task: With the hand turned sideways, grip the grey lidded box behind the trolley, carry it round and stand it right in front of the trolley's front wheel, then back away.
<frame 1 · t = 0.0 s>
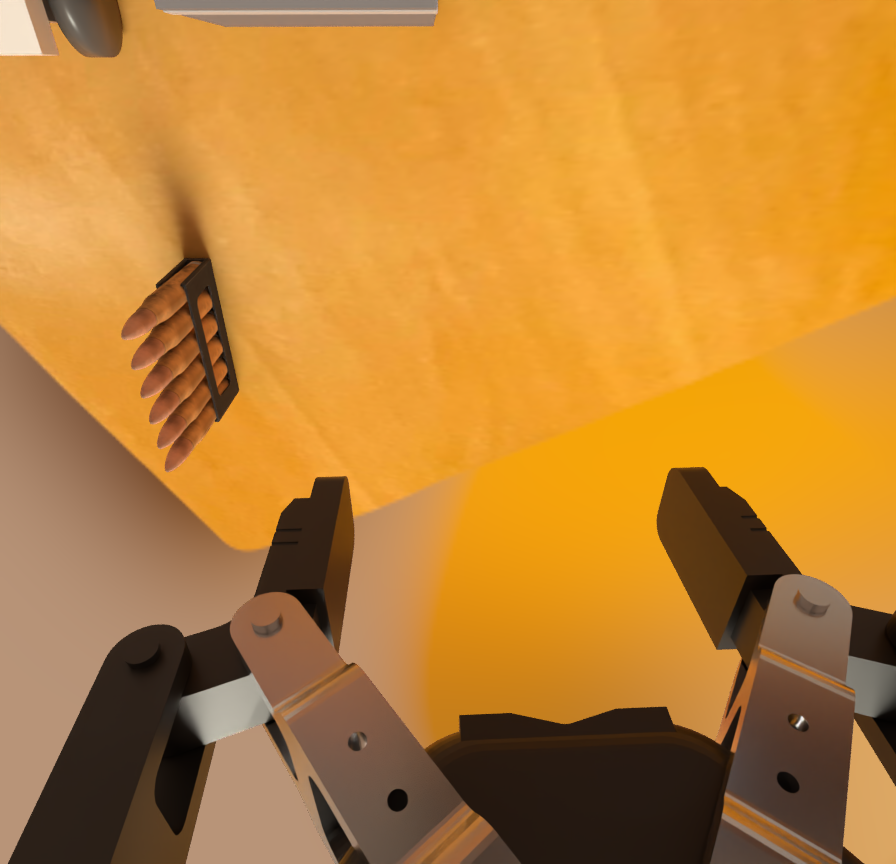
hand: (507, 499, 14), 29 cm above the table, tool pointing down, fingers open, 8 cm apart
ammunition clip: (214, 328, 42), on the table
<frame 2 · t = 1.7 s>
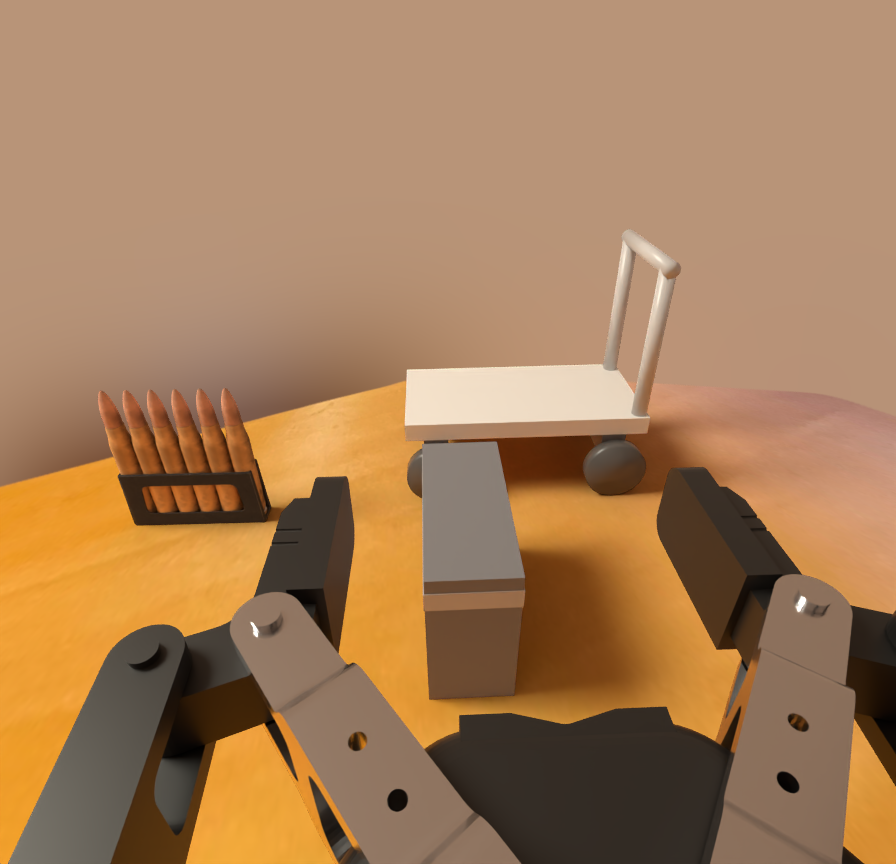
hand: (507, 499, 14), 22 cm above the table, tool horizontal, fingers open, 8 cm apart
grey lidded box: (464, 614, 38), on the table
trolley: (514, 456, 53), on the table
ammunition clip: (205, 518, 46), on the table
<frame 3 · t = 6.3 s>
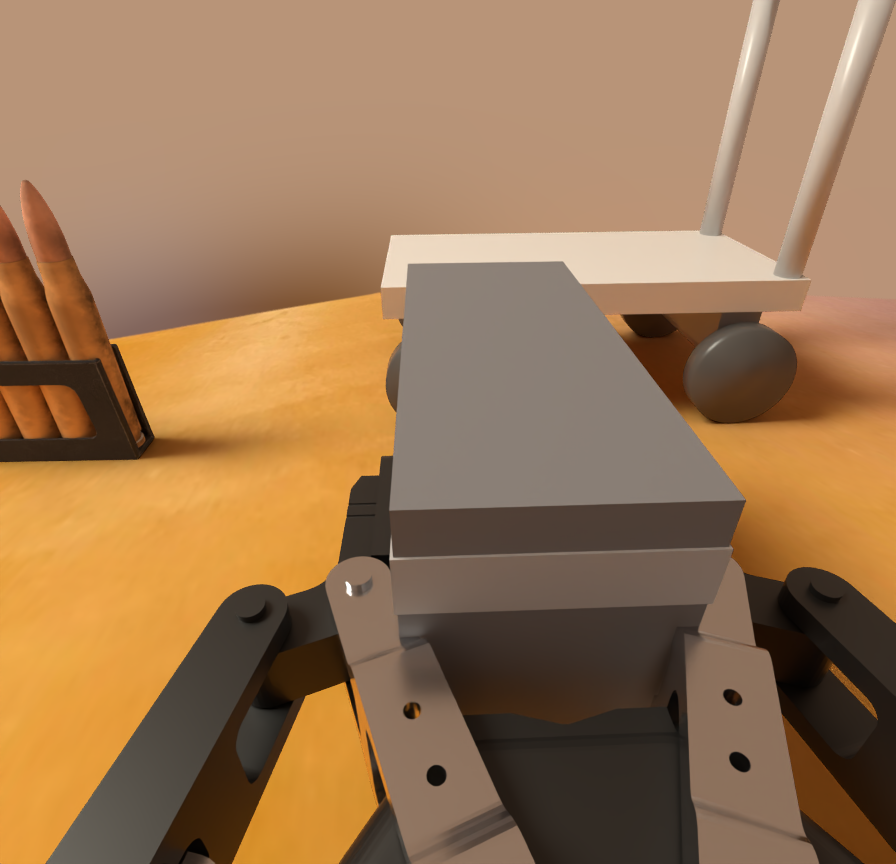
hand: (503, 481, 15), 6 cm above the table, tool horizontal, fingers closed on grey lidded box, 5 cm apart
grey lidded box: (493, 621, 18), on the table, touching gripper
trolley: (560, 372, 33), on the table
ammunition clip: (38, 453, 27), on the table
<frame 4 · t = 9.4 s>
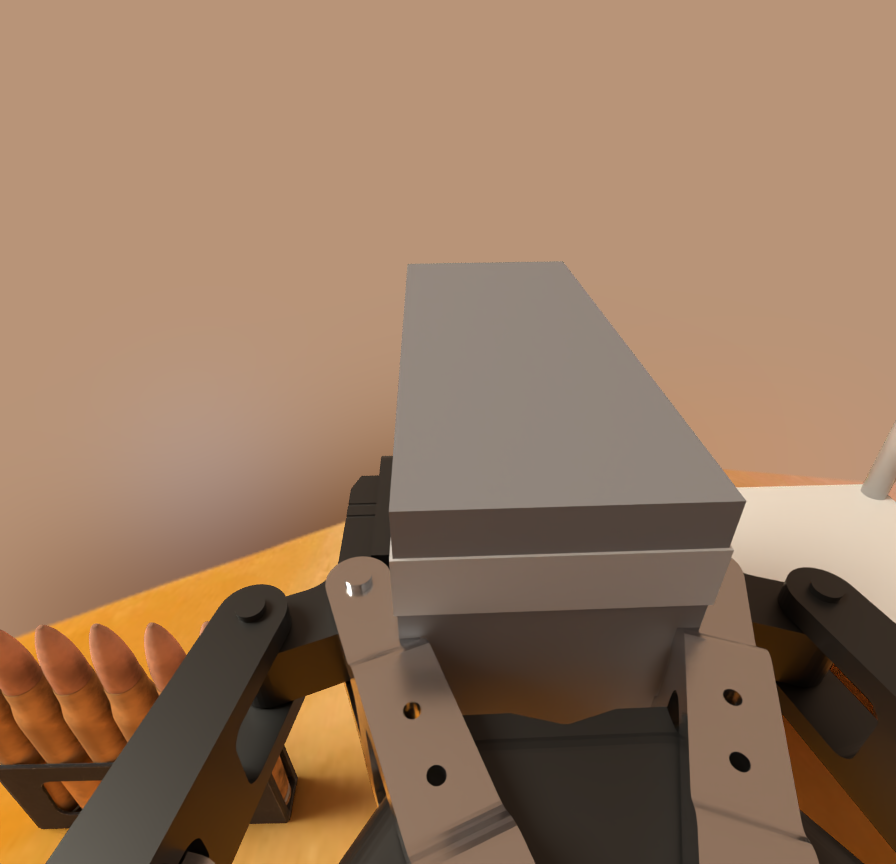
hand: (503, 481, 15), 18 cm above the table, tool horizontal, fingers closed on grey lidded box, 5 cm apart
grey lidded box: (493, 621, 18), point 12 cm above the table, touching gripper
trolley: (709, 643, 31), on the table
ammunition clip: (173, 804, 24), on the table
when the fingers open (7 cm above the table, at t = 12.4 s): grey lidded box stays where it is, on the table.
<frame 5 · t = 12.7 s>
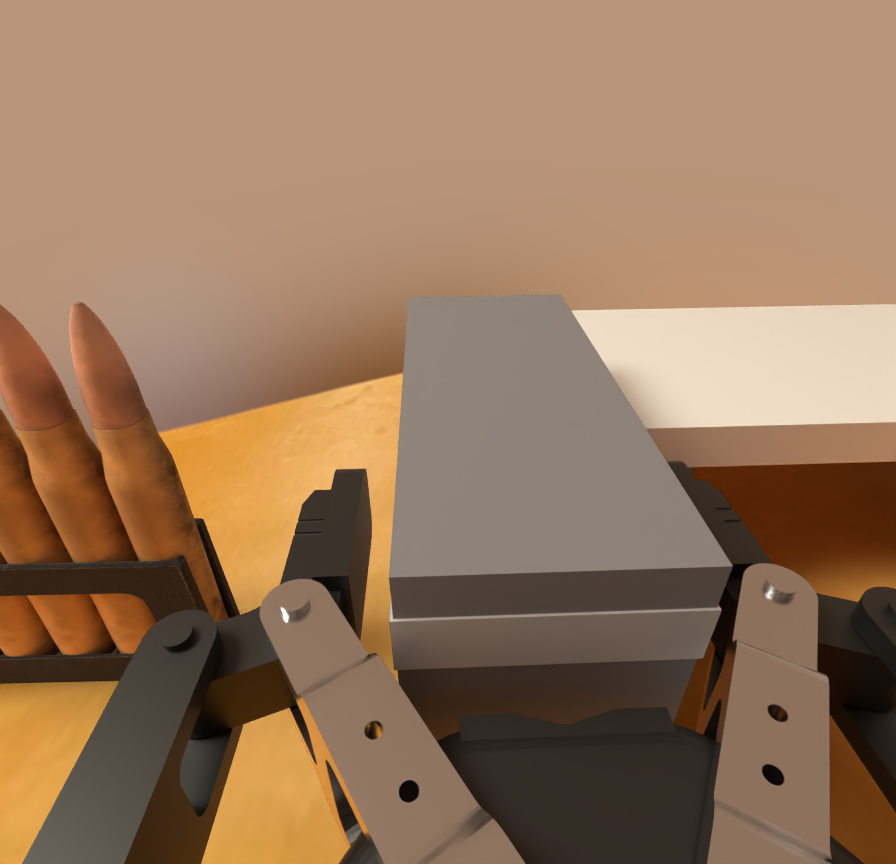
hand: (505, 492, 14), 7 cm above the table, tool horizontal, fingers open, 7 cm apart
grey lidded box: (493, 648, 18), on the table
trolley: (769, 495, 25), on the table
ammunition clip: (78, 660, 18), on the table
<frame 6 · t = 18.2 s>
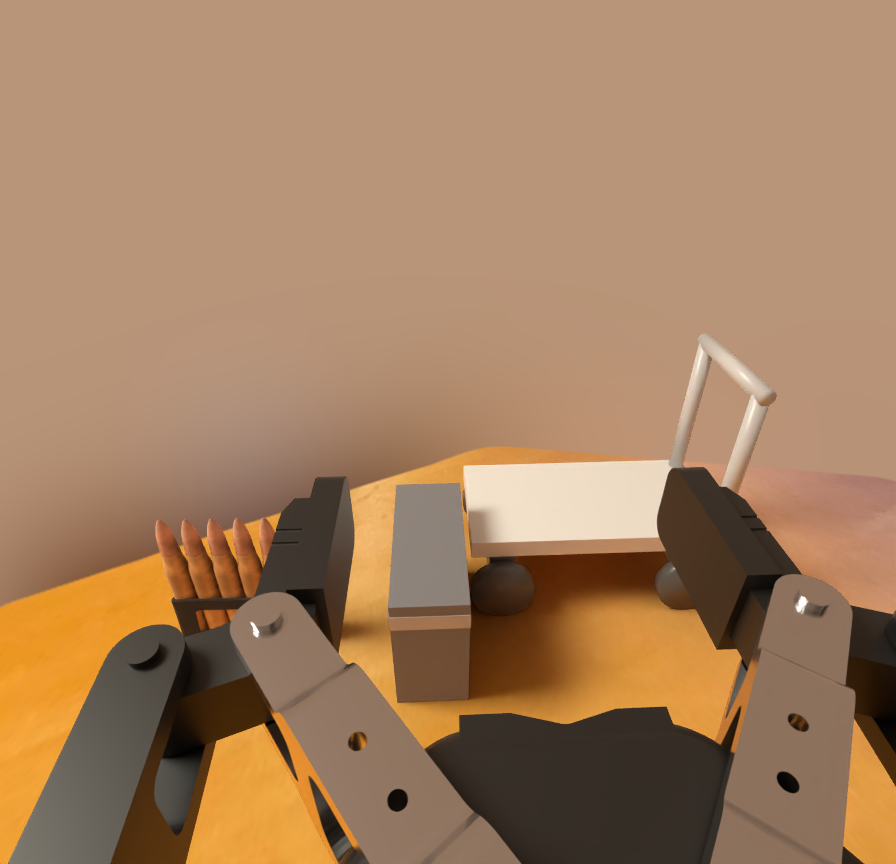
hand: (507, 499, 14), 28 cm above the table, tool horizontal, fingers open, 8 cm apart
grey lidded box: (431, 630, 44), on the table
trolley: (575, 557, 50), on the table
ammunition clip: (258, 635, 44), on the table
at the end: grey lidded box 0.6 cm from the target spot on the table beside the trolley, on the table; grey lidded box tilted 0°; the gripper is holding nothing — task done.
